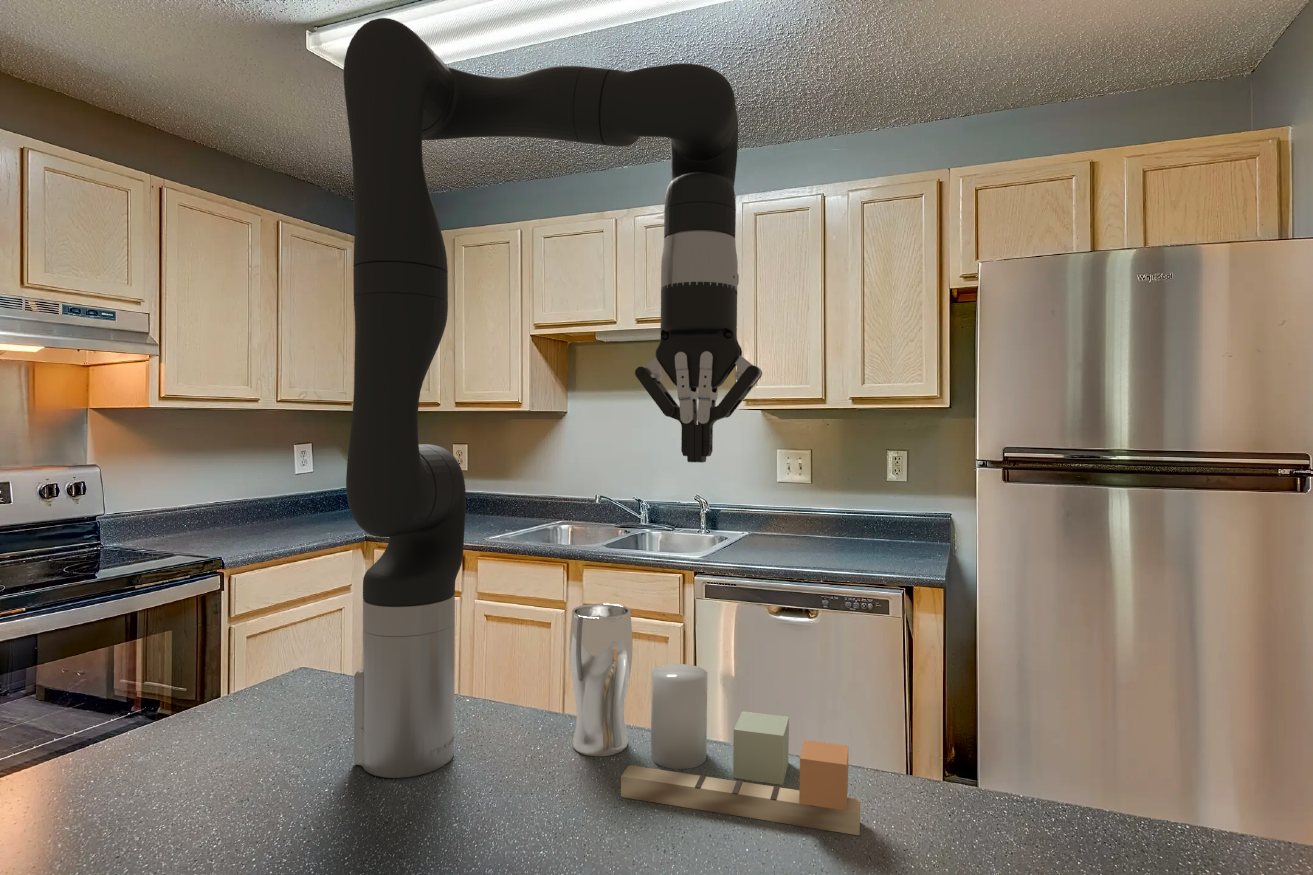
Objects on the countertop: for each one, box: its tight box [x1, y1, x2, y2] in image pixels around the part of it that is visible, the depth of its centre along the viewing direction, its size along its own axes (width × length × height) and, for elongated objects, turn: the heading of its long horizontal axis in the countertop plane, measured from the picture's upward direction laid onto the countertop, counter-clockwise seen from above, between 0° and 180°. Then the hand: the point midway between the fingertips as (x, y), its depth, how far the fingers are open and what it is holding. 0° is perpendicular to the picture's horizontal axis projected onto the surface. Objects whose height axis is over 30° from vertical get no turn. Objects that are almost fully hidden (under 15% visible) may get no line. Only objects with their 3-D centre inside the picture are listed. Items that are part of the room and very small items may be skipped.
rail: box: [620, 764, 861, 836], centre depth 69 cm, size 22×2×2 cm, turn 73°
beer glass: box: [569, 603, 633, 757], centre depth 82 cm, size 7×7×15 cm
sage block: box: [732, 711, 790, 786], centre depth 76 cm, size 5×5×5 cm
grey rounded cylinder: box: [650, 663, 708, 770], centre depth 79 cm, size 6×6×9 cm
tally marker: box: [798, 739, 849, 811], centre depth 66 cm, size 4×4×4 cm
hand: (697, 461), depth 73 cm, fingers closed
